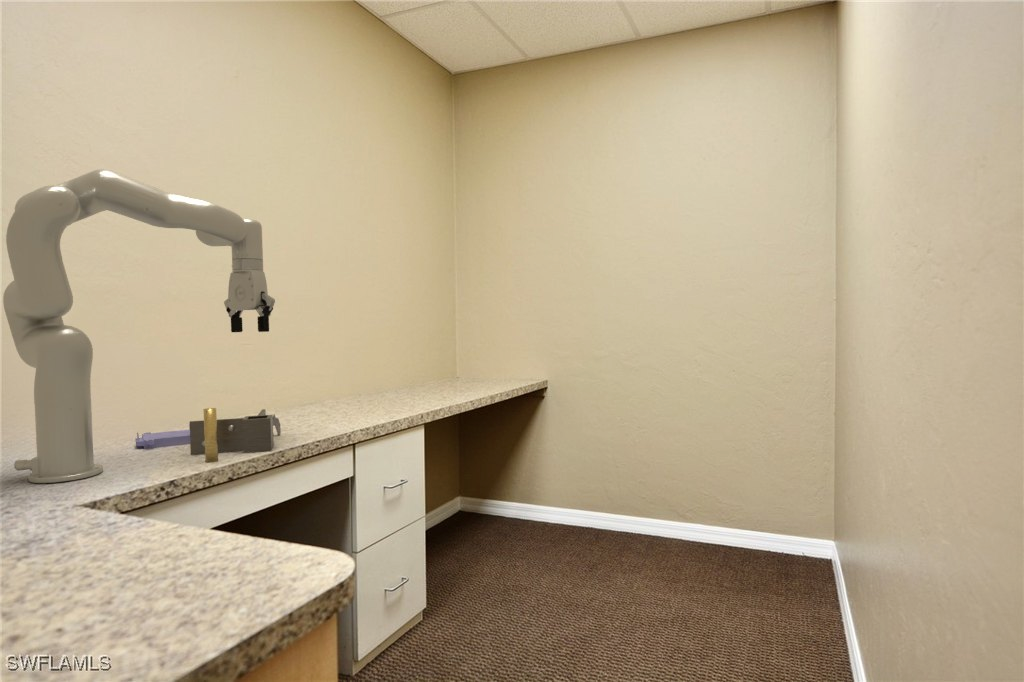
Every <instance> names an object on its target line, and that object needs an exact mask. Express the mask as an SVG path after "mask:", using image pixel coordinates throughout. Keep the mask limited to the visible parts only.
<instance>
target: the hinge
mask: <svg viewBox="0 0 1024 682" xmlns="http://www.w3.org/2000/svg"><path fill="white" fill-rule="evenodd" d="M273 415H274V414H267V413H266V409H261V410H260V412H259V413H258V415H247V416H246V415H245V416H244V417H240V418H238V417H237V418H224V419H223V418H221V419H217V444H218V454H219V453H220V454H221V453H232V452H234V453H235V452H242V453H243V454H246V453H247V454H248V453H261V452H271V450H272V451H273V449H272V448H274V445H275V441H274V436H273V433H274V426H273ZM189 424H190V429H189V430H190V444H189V446H190V447H189V448H190V456H193V455H205V437H204V419H203V420H191V421H189Z"/></svg>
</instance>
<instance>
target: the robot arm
mask: <svg viewBox="0 0 1024 682" xmlns="http://www.w3.org/2000/svg"><path fill="white" fill-rule="evenodd" d="M105 211H109V212H112V213H115V214H118V215H121V216H124V217H126V218H130V219H133V220H136V221H138V222H141V223H145V224H147V225H150V226H152V227H157V228H164V229H185V230H192V231H195V235H196V237H197V239H198V240H199V241H200V242H201V243H202V244H204V245H206V246H209V247H231V271H232V272H230V274H229V280H228V288H227V289H228V291H227V293H228V294H227V298H226V299H225V300H224V301H223V303H224V306H225V309H226V312H227V314H228V317H229V318H230V332H231V333H242V332H243V330H244V329H243V317H241V316H242V314H243V312H244V311H256V312H257V314H258V315H259V316H257V332H258V333H266V332H267V333H268V332H270V319H269V318H270V317H271V315H272V312H273V310H274V306H275V303H276V299H275V298H273V297H272V296H270V295H269V293H268V284H267V279H266V274H265V271H264V255H263V254H264V253H263V227H262V226H263V225H262V224H261V222H259V221H258V220H254V219H248V218H244V219H243V218H242V217H241V216H240V215H239V214H238V213H236V212H235V211H233V210H230V209H227V208H224V207H222V206H219V205H217V204H215V203H212V202H209V201H208V202H207V201H205V200H202V199H201V200H200V199H197V198H194V197H193V198H192V197H188V196H184V195H180V194H177V193H172V192H171V193H170V192H169V191H164V190H162V189H159V188H156V187H154V186H151V185H150V184H146V183H144V182H141V181H139V180H136V179H134V178H131V177H129V176H127V175H124V174H121V173H118V172H115V171H114V170H113V171H112V170H110V169H103V168H102V169H96V170H93V171H90V172H87V173H85V174H81V175H80V176H76V177H74V178H72V179H70V180H67V181H64V182H62V183H59V184H58V183H57V184H54V185H53V184H52V185H51V184H50V185H46V186H42V187H39V188H37V189H35V190H33V191H30V192H27V193H26V194H24V195H22V196H21V197H20V198H18V200H17V201H16V204H15V205H14V211H13V213H12V216H10V217H11V218H9V219H10V220H9V221H8V225H7V229H6V235H5V238H6V239H5V240H6V241H5V242H6V250H7V254H8V258H9V259H8V260H9V265H10V268H11V272H12V276H13V281H11V282H10V283H9V284H8V285H7V286H6V288H5V290H4V291H3V299H2V300H3V301H2V302H3V308H4V309H3V310H4V312H5V316H6V320H7V322H8V323H7V324H8V326H9V329H10V333H11V336H12V339H13V342H14V346H15V348H16V352H17V353H18V355H19V357H20V359H21V360H22V361H23V362H24V363H25V364H26V365H28V366H29V367H31V368H34V369H35V375H34V382H33V400H34V402H33V403H34V417H35V419H34V420H35V438H36V439H35V440H36V442H35V443H36V456H35V457H32V458H31V459H20V460H19V459H18V460H15V461H14V466H13V467H14V469H15V470H16V471H27V470H29V471H31V473H29V474H28V476H27V478H28V482H30V483H33V484H47V483H48V484H51V483H62V482H68V481H69V482H71V481H74V480H75V481H77V480H81V479H86V478H90V477H93V476H96V475H99V474H101V473H102V472H103V471H104V466H103V465H102V464H100V463H99V464H98V463H94V462H95V461H94V439H93V417H92V398H91V396H92V395H91V394H92V393H91V377H92V376H91V374H92V365H93V358H94V356H93V355H94V352H93V349H94V348H93V345H92V342H91V340H90V338H89V336H88V335H87V334H86V333H85V332H84V331H82V330H81V329H79V328H77V327H74V326H72V325H66V324H65V323H64V320H63V317H64V316H65V315H66V314H68V312H69V311H71V309H72V307H73V304H74V296H73V291H72V289H71V285H70V282H69V278H68V276H67V275H68V274H67V272H66V268H65V264H64V260H63V256H62V251H61V239H62V235H63V233H64V231H65V229H66V228H68V227H69V226H71V225H72V224H74V223H76V222H79V221H82V220H84V219H85V220H86V219H87V218H89V217H92V216H94V215H97V214H99V213H101V212H105Z"/></svg>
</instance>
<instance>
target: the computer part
mask: <svg viewBox="0 0 1024 682" xmlns="http://www.w3.org/2000/svg"><path fill="white" fill-rule="evenodd" d="M188 426H189V429H183V430H172V431H171V430H170V431H161V432H153V433H152V432H144V433H143V434H141V437H140V436H139V432H136V438H135V446H136V447H143V449H144V450H150V449H158V448H166V447H167V448H168V447H173V446H174V447H175V446H185V445H190V423H189V425H188Z"/></svg>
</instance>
